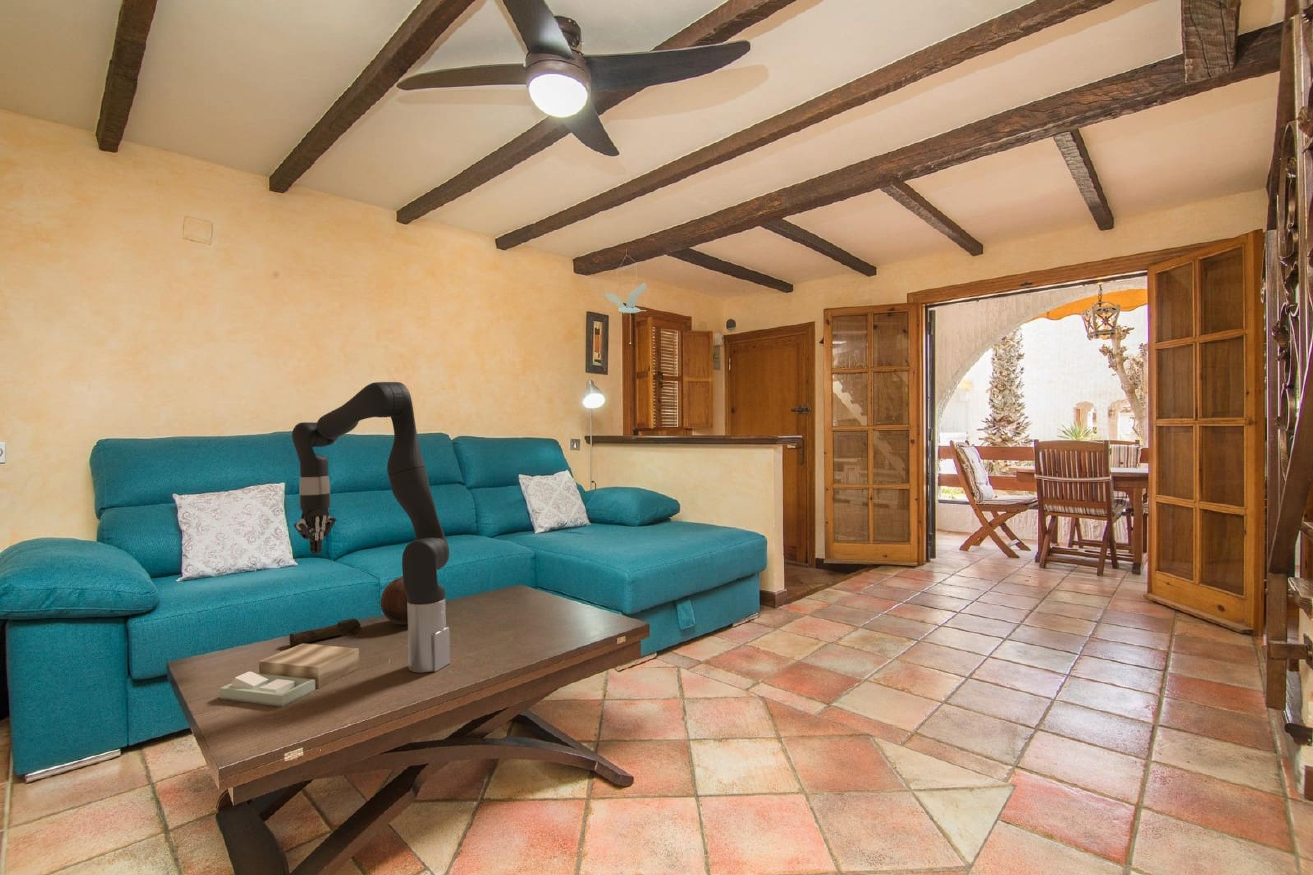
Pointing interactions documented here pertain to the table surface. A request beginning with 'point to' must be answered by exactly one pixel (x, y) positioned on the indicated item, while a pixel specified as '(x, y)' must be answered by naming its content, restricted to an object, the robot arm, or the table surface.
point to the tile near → (278, 686)
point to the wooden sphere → (395, 602)
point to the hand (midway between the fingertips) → (316, 553)
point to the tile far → (249, 681)
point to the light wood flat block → (312, 663)
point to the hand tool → (326, 632)
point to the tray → (269, 698)
